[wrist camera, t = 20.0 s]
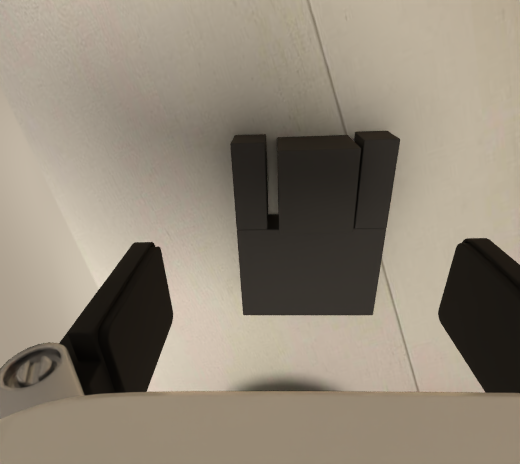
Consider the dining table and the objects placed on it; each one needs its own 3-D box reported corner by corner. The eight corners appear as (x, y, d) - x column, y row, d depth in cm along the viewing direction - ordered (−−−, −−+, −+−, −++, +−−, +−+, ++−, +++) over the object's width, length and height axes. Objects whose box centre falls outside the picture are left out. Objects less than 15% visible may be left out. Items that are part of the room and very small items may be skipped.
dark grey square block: (278, 210, 30) (279, 234, 26) (277, 137, 27) (277, 150, 23) (342, 209, 29) (353, 233, 25) (348, 134, 26) (361, 148, 22)
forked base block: (245, 295, 34) (243, 315, 31) (234, 135, 27) (230, 143, 24) (365, 295, 33) (373, 315, 31) (387, 130, 26) (400, 138, 23)
